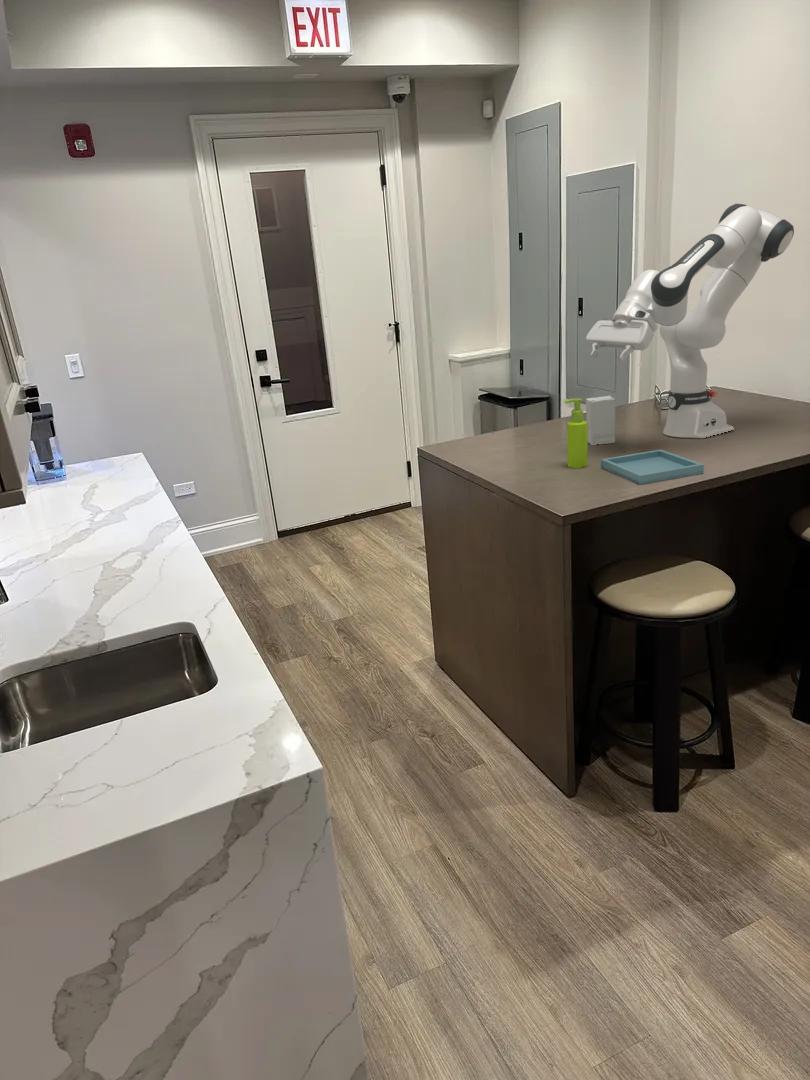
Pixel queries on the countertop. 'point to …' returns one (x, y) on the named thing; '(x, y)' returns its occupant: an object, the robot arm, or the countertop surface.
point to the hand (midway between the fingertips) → (606, 358)
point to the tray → (652, 466)
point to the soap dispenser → (577, 437)
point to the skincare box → (600, 420)
